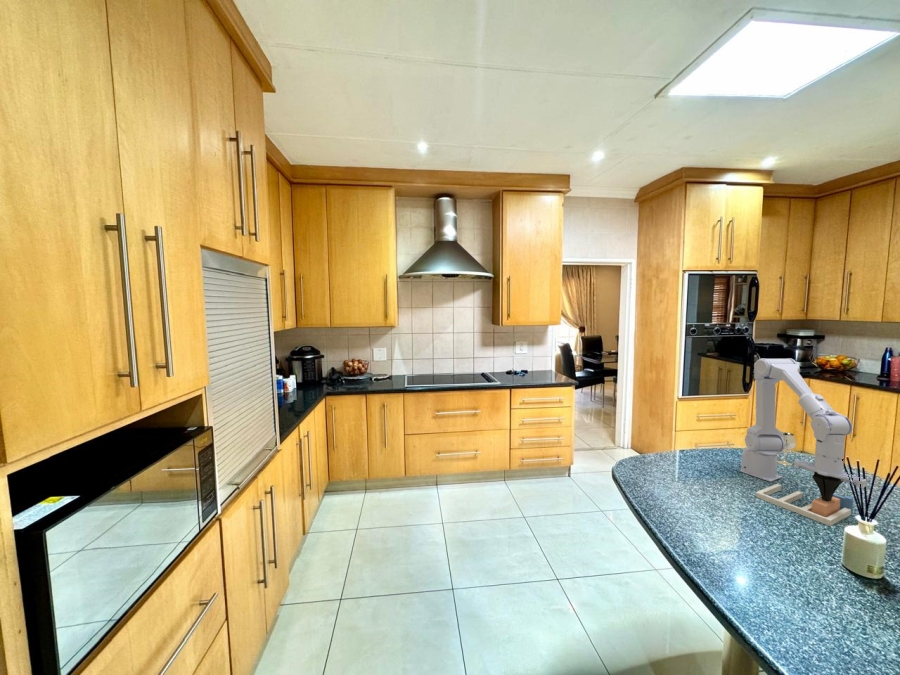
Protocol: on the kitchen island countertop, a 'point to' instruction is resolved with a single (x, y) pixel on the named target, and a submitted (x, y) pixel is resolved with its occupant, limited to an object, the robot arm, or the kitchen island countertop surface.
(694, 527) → the kitchen island countertop surface
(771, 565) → the kitchen island countertop surface
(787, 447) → the wineglass
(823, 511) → the tall peach block
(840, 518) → the comb organizer
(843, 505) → the blue bracket
